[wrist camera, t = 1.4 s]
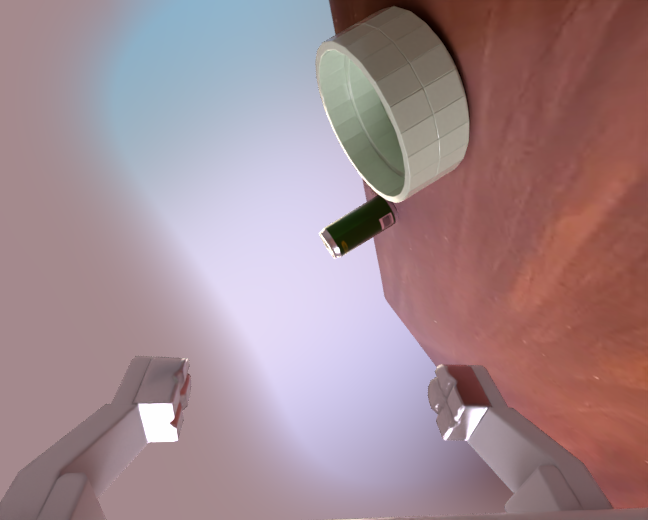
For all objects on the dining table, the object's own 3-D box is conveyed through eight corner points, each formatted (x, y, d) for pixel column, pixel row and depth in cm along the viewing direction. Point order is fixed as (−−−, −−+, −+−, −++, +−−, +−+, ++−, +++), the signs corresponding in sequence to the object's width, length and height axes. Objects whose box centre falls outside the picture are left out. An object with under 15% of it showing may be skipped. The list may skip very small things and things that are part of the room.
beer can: (392, 198, 54) (326, 238, 53) (403, 225, 57) (339, 265, 56) (376, 189, 59) (314, 226, 58) (386, 215, 62) (327, 251, 61)
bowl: (367, -30, 30) (301, 6, 29) (497, 66, 23) (416, 115, 23) (373, 112, 44) (328, 138, 43) (456, 196, 37) (404, 228, 37)
